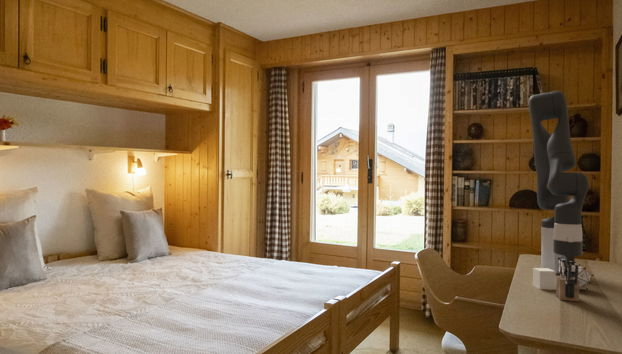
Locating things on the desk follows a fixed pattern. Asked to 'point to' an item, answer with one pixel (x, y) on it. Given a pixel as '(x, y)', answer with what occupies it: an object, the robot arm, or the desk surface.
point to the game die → (583, 277)
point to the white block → (544, 278)
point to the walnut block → (561, 289)
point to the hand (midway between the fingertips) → (567, 294)
